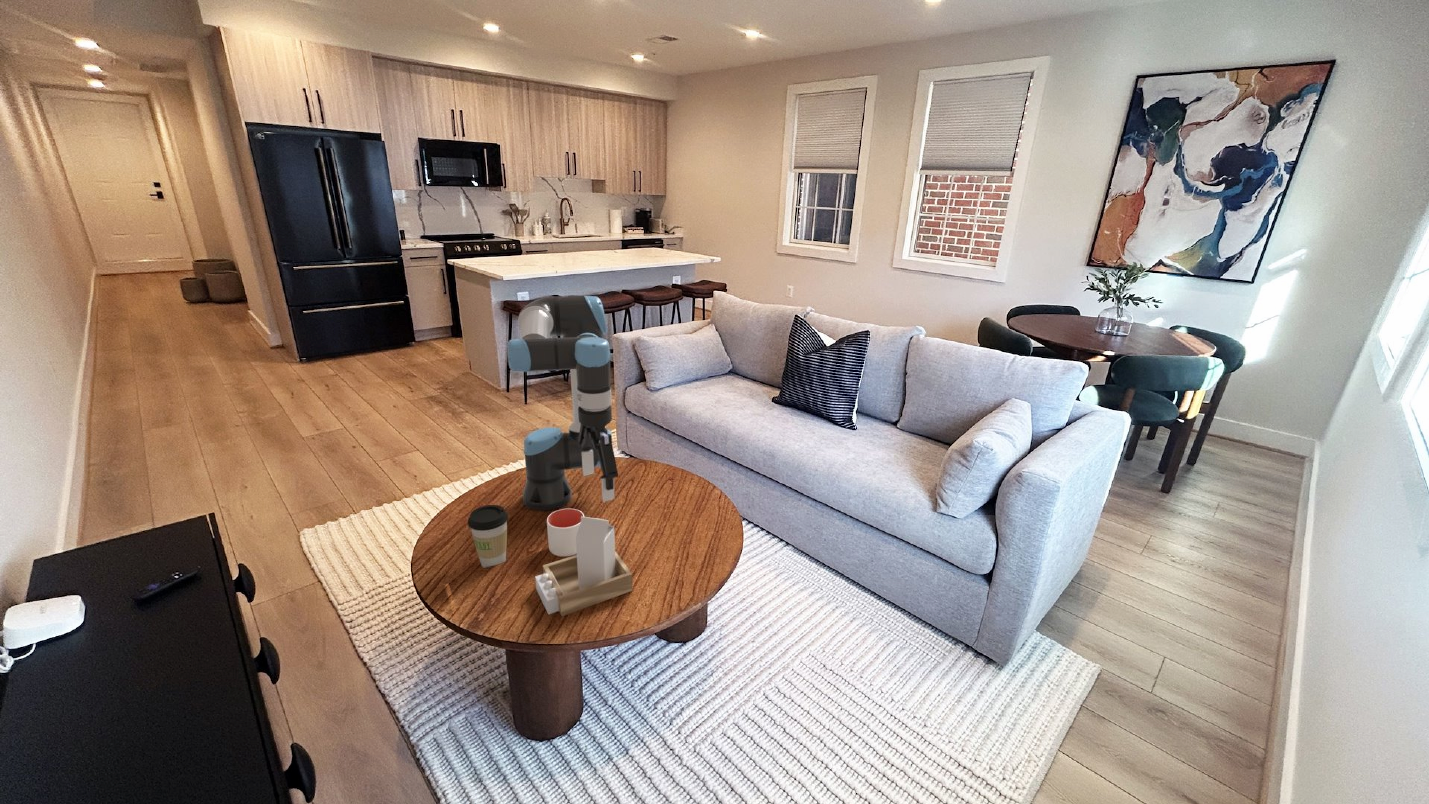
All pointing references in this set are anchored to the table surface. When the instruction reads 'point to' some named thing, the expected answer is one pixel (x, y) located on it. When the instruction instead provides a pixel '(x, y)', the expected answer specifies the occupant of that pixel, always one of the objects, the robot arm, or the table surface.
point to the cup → (563, 531)
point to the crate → (587, 596)
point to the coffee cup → (489, 534)
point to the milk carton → (595, 551)
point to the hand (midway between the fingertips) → (598, 486)
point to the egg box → (547, 593)
